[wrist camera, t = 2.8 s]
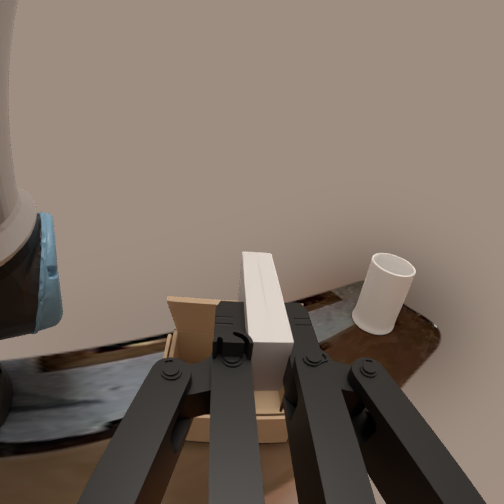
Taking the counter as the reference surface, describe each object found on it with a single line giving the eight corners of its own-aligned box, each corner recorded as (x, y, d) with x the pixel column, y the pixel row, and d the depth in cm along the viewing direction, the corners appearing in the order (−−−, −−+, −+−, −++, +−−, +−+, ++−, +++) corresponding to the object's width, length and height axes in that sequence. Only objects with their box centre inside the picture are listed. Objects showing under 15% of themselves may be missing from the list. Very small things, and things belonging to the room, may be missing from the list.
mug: (385, 300, 57) (403, 249, 51) (411, 324, 50) (435, 270, 44) (342, 311, 52) (360, 254, 47) (370, 340, 45) (395, 280, 40)
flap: (177, 331, 35) (166, 300, 27) (178, 326, 35) (167, 294, 27) (282, 336, 36) (303, 308, 28) (282, 331, 36) (302, 302, 28)
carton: (160, 437, 27) (152, 412, 24) (172, 359, 38) (169, 328, 35) (295, 441, 28) (308, 417, 26) (282, 364, 40) (289, 334, 37)
